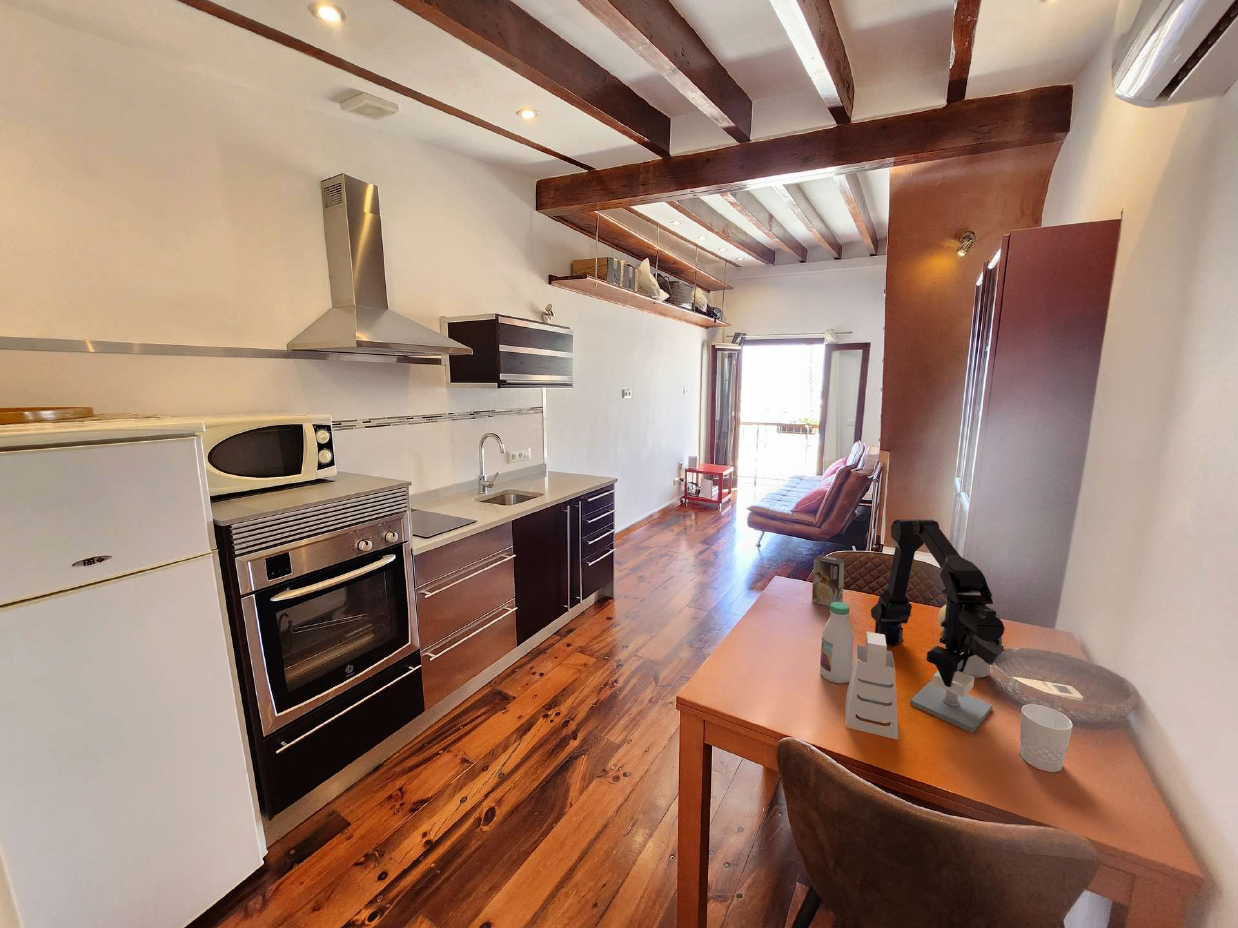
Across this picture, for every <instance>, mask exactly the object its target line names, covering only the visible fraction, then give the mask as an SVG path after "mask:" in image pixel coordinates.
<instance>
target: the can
mask: <svg viewBox="0 0 1238 928" xmlns="http://www.w3.org/2000/svg"><path fill="white" fill-rule="evenodd" d="M990 671H991V665H989V664H987V663H986V662H984V660H983V659H981V658H980V657H978V656H977V655H973V656H971V657H970V658H969V660H968V662H967V665H966V667H965V669H964V671H963V673H965V674H968V675H970V676H973V677H974V678H978V679H979V678H980V679H983V678H986V677H988V676H989V675H990Z"/></svg>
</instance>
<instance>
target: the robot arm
mask: <svg viewBox="0 0 1238 928" xmlns="http://www.w3.org/2000/svg"><path fill="white" fill-rule="evenodd" d="M890 538H891V540H892V542H893V543H894V545H895V547H894V554H893V557H892V564H891V568H890V573H889V579H888V583H887V584H888V585H887V588H886V589H885V590H884V591H883V592H882V593H881V594H880V595H879V597H878V600H877V603H876V604H875V605H874V606H873V607H872V608H870V615H871V618H872V619H873V620H874V621H875V624H874V633H878V634H884V635H885V639H886V645H889V646H890V647H891V646H892V647H895V646H896V645H898V644H900V643H901V642H902V641H903V640H904V638H903V636H904V628H903V625H902V624H904V625H905V624H908V621H909V619H910V617H911V614H912V613H911V612H912V608H913V606H912V604H911V603H910V601H909V599H908V597H907V592H908V587H909V584H910V583H909V582H910V579H911V578H910V577H911V573H912V568H913V564H914V563H913V562H914V559H915V554H916V552H917V551H918V550H919V549H920V548H921V547H922V546H923V545H924V546H926V548H927V551H929V552H930V554H931V555H932V557H933V558H934V559H935V561H936V562H937V564H938V566H939V568H940V573H939V577H940V579H941V581H942V584H943V587H944V589H943V590H942V593H943V594H944V595H945V596H946V603H945V605H946V612H945V620H944V621H942V622H941V626H942V627H944V632H943V631H942V632H943V634H942V636H941V637H940V638H939V643H940V644H943V645H945V646H944V647H943V646H939V645H936V646H934V647H932V648H931V649H930V650H928V651H927V652H926V662H928V663H930V664H933V665H935V667H936V669H937V671H939V673H940V676H941V678H942V680H943V682H944V685H945V686H947V687H951V684H952V682H953V679H954V675H955V672H957V671H960V672H963V671H964V669H965V667H966V665H967V662H968V660H969V658H970V657H971V656H973V655H977V656H978V657H980V658H981V659H983V660H984V662H986V663H987V664H989V665H990V666H992V665H994V664H995V663H996V662H997V661H998V659H999V658H1000V656H1001V655H1002V654H1003V652H1004V651H1005V646H1004V645H1003V638H1002V636H1003V634H1005V628H1006V627H1005V625H1004V623H1003V621H1002V620H1001V619H1000V618H999V617H997V611H996V610H995V609H993V608H990V607H988V606H987V605H993V604H994V601H993V598H992V597H993V594H992V592H991V590H990V587H989V585H988V583H987V580H986V577H985V575H984V573H983V571H982V570H981V569H980V568H979V567H978V566H977V565H976V564H974V562H972V561H970V560H968V559H966V558H964V557H962V556H961V555H960V553H959V552H958V551H957V549H956V548H955V547H954V545H953V544H952V543H951V541H950V540H949V539H948V538H947V536H946V535H945V533H943V531H942V529H941V528H940V524H939V522H938V521H937V520H934V519H896V520H893V521H892V524H891V525H890Z"/></svg>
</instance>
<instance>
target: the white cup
mask: <svg viewBox="0 0 1238 928" xmlns="http://www.w3.org/2000/svg"><path fill="white" fill-rule="evenodd" d="M1020 712H1021V713H1020V724H1019V725H1020V727H1019V740H1020V742H1019V743H1020V744H1019V755H1020V757H1021V758H1022V759H1023V760H1024V761H1025V762H1026V763H1028V764H1029V765H1031V766H1032V767H1034V768H1036V769H1038V770H1041V771H1045V772H1046V773H1049V772H1050V773H1058V772H1061V771H1062V769H1063V766H1064V761H1065V758H1066V757H1067V752H1068V748H1069V743H1070V738H1071V734H1072V731H1073V722H1072V720H1071V719H1070V718H1069V717H1067V715H1065V714H1063V713H1062V712H1061V711H1059V710H1056V709H1054V708H1052V707H1048V706H1045V705H1041V704H1036V703H1029V704H1025V705H1023V706H1021V711H1020Z"/></svg>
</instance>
